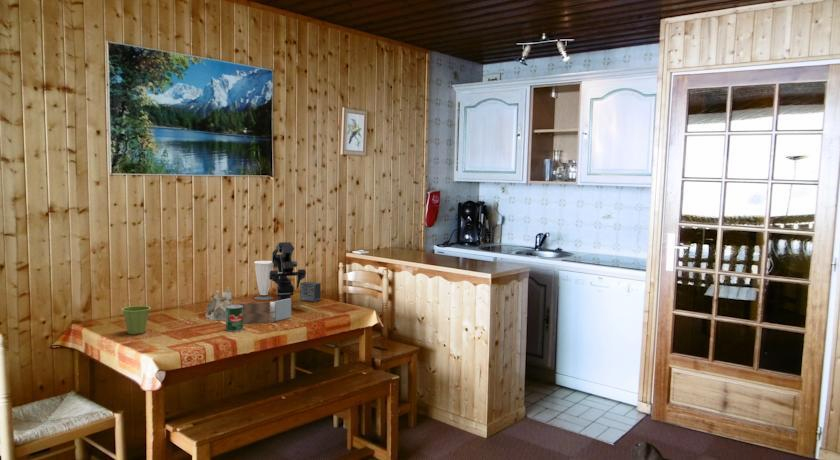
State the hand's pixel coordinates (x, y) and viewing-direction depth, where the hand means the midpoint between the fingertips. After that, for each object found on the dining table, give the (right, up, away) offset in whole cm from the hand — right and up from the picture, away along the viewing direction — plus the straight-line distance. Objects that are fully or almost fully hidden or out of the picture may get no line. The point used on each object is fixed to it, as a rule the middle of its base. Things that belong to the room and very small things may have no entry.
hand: (289, 288), depth 314 cm
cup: (-23, -10, +39) cm, 46 cm away
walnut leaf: (-11, -15, -21) cm, 28 cm away
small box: (+5, -11, +34) cm, 36 cm away
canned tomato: (-18, -16, -34) cm, 42 cm away
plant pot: (-60, -16, -43) cm, 75 cm away
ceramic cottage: (-33, -14, -10) cm, 38 cm away
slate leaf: (-1, -14, -15) cm, 20 cm away
